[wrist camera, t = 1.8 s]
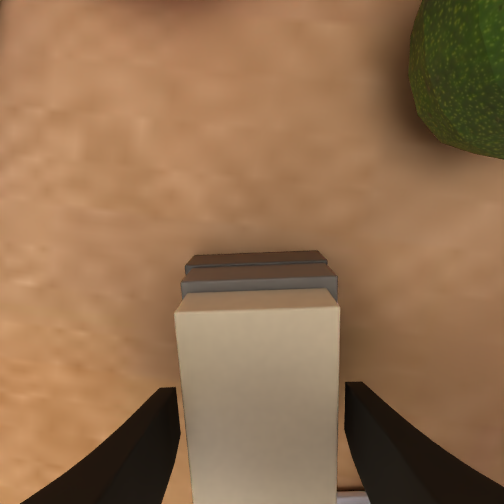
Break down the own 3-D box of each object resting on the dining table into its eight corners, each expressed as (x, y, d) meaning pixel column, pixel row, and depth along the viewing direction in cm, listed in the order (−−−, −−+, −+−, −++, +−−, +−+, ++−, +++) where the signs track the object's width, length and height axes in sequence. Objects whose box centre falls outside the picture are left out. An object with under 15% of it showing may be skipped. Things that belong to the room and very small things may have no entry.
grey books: (317, 428, 16) (336, 503, 13) (208, 431, 17) (194, 506, 13) (317, 250, 14) (341, 273, 10) (194, 255, 14) (171, 279, 11)
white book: (325, 493, 12) (336, 543, 11) (205, 496, 13) (196, 546, 11) (327, 287, 11) (341, 306, 9) (186, 292, 11) (172, 312, 9)
